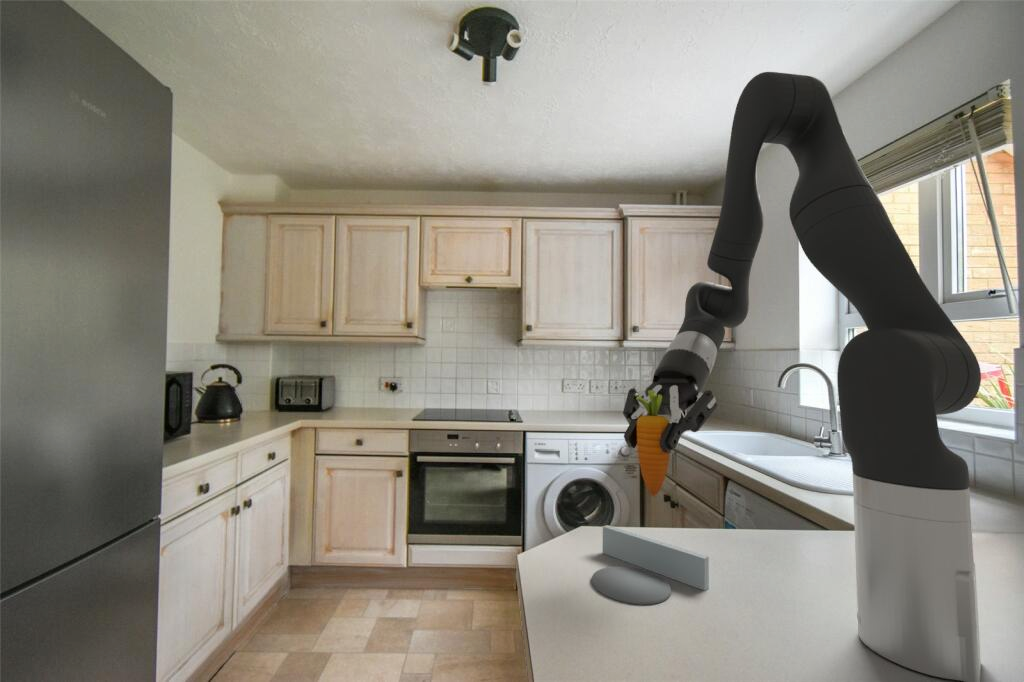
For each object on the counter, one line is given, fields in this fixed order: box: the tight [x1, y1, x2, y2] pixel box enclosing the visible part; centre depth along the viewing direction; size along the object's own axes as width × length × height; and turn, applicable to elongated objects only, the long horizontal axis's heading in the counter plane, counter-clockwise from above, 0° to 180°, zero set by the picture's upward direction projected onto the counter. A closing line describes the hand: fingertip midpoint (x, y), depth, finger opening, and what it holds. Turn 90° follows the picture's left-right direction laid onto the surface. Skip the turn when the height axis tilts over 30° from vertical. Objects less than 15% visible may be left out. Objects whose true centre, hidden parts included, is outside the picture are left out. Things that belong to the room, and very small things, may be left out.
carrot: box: [636, 390, 671, 498], centre depth 64 cm, size 5×5×15 cm
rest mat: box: [591, 566, 672, 606], centre depth 58 cm, size 10×10×1 cm
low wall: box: [602, 524, 710, 591], centre depth 64 cm, size 16×1×4 cm, turn 43°
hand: (646, 446), depth 62 cm, fingers closed on carrot, 5 cm apart
